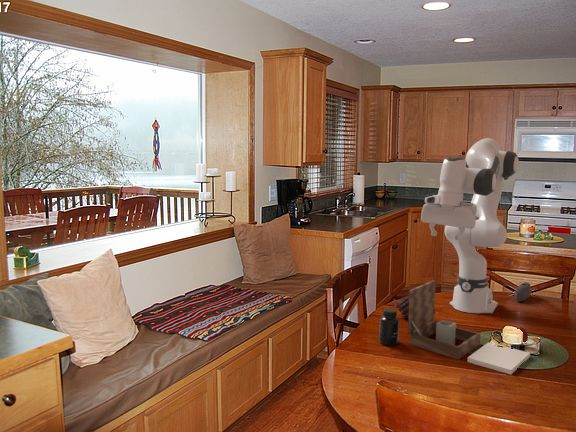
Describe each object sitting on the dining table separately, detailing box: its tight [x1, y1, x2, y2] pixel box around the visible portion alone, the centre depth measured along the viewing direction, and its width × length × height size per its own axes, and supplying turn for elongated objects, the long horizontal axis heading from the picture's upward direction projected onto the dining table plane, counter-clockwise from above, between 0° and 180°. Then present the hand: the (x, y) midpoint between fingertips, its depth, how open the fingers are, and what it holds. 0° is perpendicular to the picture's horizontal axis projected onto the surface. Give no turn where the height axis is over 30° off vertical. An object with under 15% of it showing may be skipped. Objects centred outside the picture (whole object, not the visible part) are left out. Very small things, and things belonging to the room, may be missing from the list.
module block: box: [435, 319, 457, 346], centre depth 185 cm, size 5×5×8 cm
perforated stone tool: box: [514, 281, 532, 302], centre depth 239 cm, size 15×5×7 cm, turn 139°
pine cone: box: [394, 295, 436, 319], centre depth 212 cm, size 18×10×10 cm, turn 52°
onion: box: [515, 324, 529, 343], centre depth 183 cm, size 6×6×8 cm
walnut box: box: [407, 279, 482, 360], centre depth 184 cm, size 18×19×20 cm
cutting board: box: [467, 341, 531, 376], centre depth 173 cm, size 18×14×2 cm
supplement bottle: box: [378, 308, 400, 346], centre depth 186 cm, size 7×7×12 cm
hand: (445, 237), depth 192 cm, fingers open, 8 cm apart
